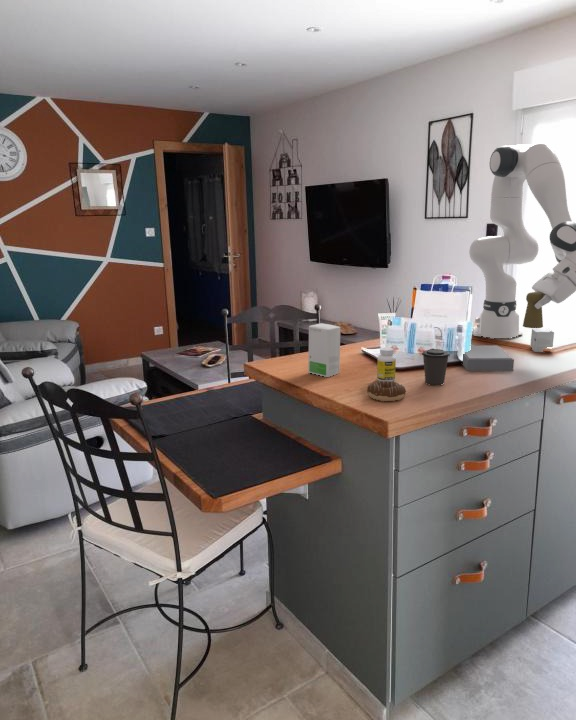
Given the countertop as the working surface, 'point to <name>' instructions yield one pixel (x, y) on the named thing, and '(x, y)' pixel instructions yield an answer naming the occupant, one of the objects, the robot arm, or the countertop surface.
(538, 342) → the skincare box
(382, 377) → the supplement bottle
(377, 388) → the donut
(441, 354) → the coffee cup
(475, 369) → the plinth
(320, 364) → the skincare box
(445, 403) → the countertop surface
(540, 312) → the cork
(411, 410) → the countertop surface
